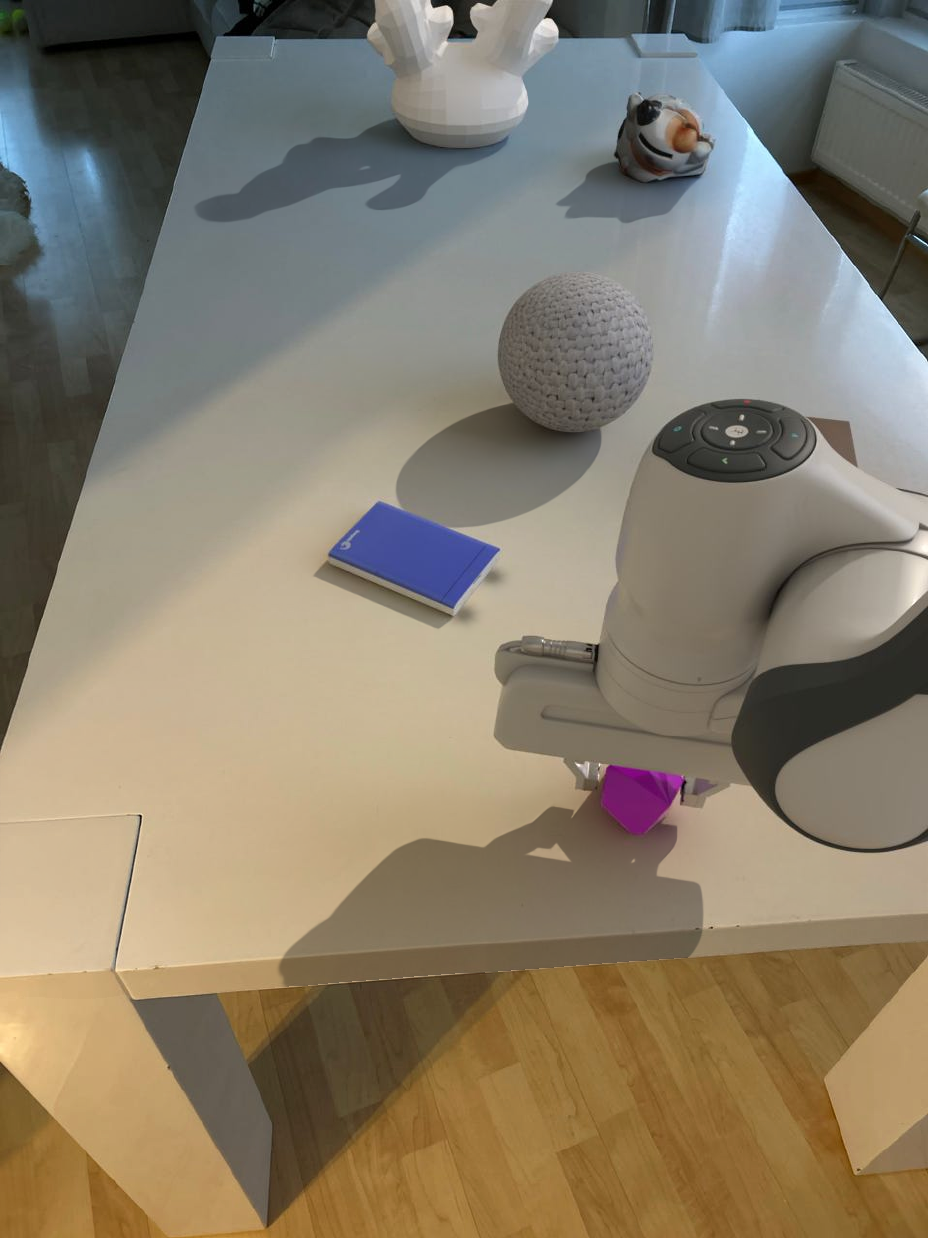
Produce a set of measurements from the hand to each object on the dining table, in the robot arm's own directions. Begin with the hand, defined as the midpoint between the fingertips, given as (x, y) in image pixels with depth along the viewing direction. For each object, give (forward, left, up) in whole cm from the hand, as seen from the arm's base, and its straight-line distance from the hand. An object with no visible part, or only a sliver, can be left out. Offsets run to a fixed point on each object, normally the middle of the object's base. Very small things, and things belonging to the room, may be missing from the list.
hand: (638, 790), depth 65 cm
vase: (+33, -120, -2) cm, 124 cm away
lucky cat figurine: (+1, -110, -2) cm, 110 cm away
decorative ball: (+9, -45, -2) cm, 46 cm away
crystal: (0, 0, -2) cm, 2 cm away
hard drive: (+20, -21, -2) cm, 29 cm away
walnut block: (-12, -36, -2) cm, 38 cm away
